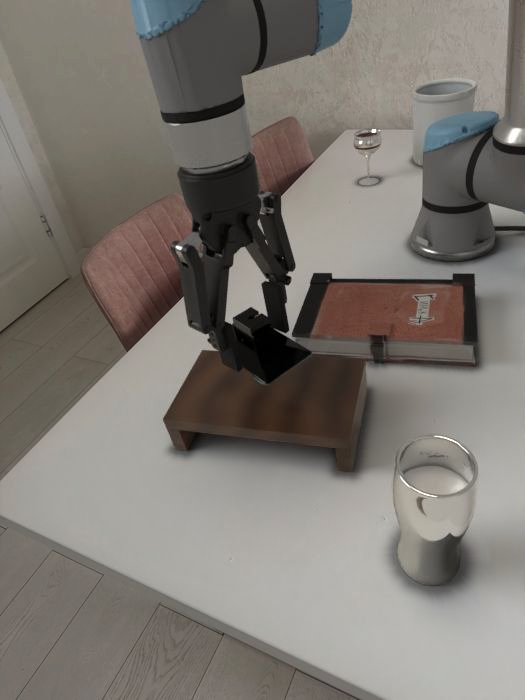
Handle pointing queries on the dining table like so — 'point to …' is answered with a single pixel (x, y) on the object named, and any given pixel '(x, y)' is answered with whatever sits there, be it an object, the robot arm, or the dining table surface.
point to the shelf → (274, 404)
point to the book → (390, 319)
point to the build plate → (265, 347)
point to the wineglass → (367, 148)
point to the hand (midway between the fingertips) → (256, 346)
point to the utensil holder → (438, 106)
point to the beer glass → (433, 505)
